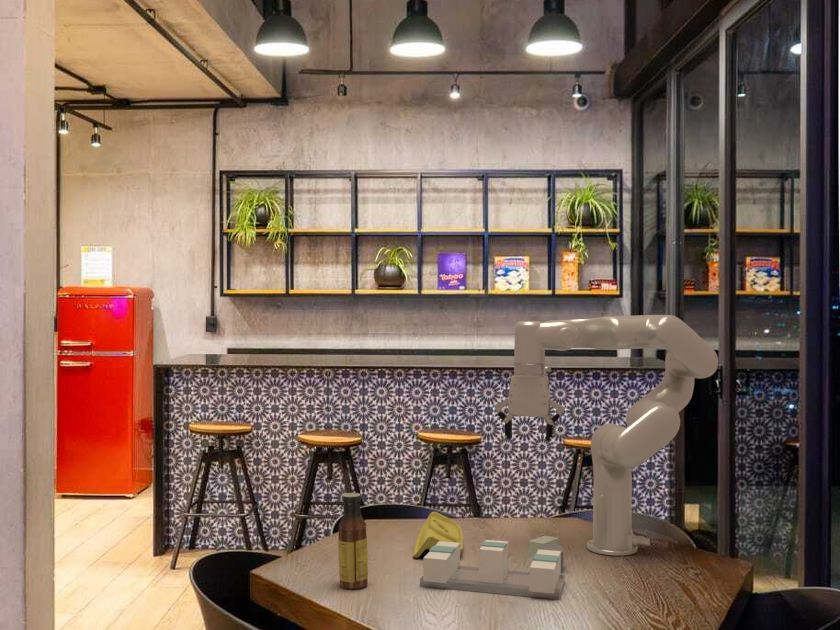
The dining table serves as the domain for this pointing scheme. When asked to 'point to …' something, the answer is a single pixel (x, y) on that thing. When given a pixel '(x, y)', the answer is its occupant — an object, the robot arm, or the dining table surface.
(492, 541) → the block
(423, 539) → the plastic component
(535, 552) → the block
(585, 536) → the dining table surface
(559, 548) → the block
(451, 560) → the block
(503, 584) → the rail
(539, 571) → the mounted module
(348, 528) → the sauce bottle
